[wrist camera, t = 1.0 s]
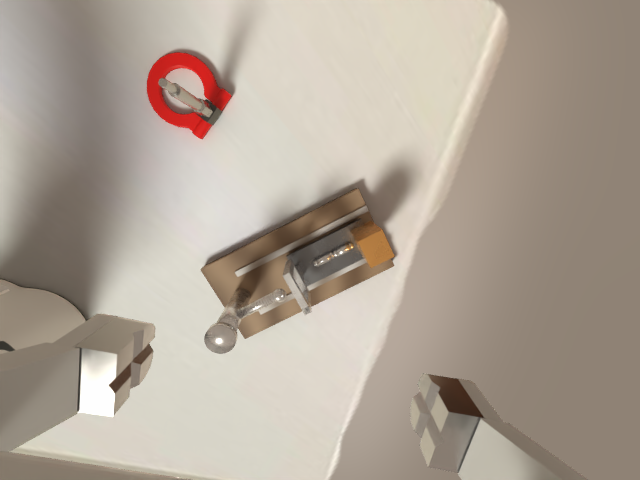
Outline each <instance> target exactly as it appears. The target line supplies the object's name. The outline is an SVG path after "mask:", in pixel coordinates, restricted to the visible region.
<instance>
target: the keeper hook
mask: <svg viewBox="0 0 640 480" xmlns="http://www.w3.org/2000/svg"><path fill="white" fill-rule="evenodd" d="M250 298H251V295H250V292H249V291H248V290H247V289H244V288H239V289H237V290H236V291H235V292H234V294H233V295H232V297H231V299H230V301H229V302H228V304H227V306H226V307H225V309H224V311H223V313H222V314H221V316H220V318H219V320H218V321H217V323H215V324H213V325H212V326H211V327H210V328H209V329H208V331H207V332H206V334H205V338H204V340H205V344H206V346H207V348H208V349H209V350H211V351H212V352H215V353H219V354H223V353H227V352H229V351H230V350H232V349H233V347H234V346H235V343H236V341H237V332H236V331H237V329H238V326H239V324H240V322H241V319H242V318H244V317H246V316H248V315H250V314H253V313H255V312H257V311H259V310H261V309H263V308H265V307H267V306H269V305H271V304H273V303H275V302H283V301H284V300H285V299H286V292H285V290H283V289H281V288H279V289H276V290H275V291H274V292H272V293H270V294H268V295H266V296H264V297H262V298H260V299H258V300H256V301H254V302H252V303H250V304H248V303H249V301H250Z"/></svg>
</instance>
